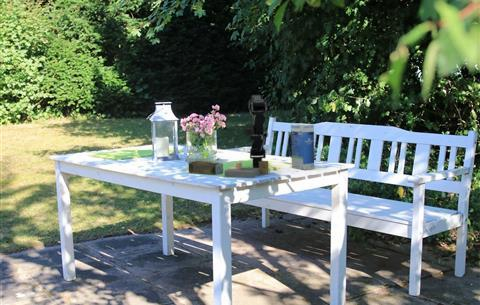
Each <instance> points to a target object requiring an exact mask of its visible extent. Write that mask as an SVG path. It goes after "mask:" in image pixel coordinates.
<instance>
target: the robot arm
mask: <svg viewBox="0 0 480 305" xmlns="http://www.w3.org/2000/svg"><path fill="white" fill-rule="evenodd" d="M248 110H249V113H250V115H251V116H252V126H251V127H250V128H248V127H246V128H244V129H243V132H242V134H243V135H244V137H247V136H249V140H250V141H252V143H251V146H250V147H251V148H249V158H250V159H252V167H251V168H259V161H263V159H266V154H267V151H266V149H265V147H264V144H265V141H266V138H267V137H269V133H268V132H267V131H265V127H266V124H265V122H266V116H265V114H264V113H267V112H268V104H267V102H266V101H265V99H263V98H262V95H260V94H253V95H251V98H250V99H249V100H248Z"/></svg>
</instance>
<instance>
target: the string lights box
mask: <svg viewBox="0 0 480 305" xmlns="http://www.w3.org/2000/svg"><path fill="white" fill-rule="evenodd" d="M290 142H291V143H290V144H291V146H290V148H291V149H290V150H291V168H293V169H298V170H302V171H306V170H307V171H308V170H315V124H312V123H302V122H300V123H291V124H290Z"/></svg>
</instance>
